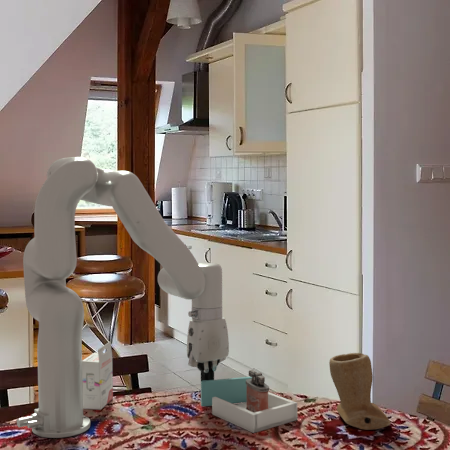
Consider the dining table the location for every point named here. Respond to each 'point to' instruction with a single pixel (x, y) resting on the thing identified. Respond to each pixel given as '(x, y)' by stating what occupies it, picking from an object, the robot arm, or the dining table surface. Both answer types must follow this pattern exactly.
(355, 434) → the dining table surface
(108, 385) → the ink cartridge box
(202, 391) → the box door
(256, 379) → the lighter
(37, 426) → the robot arm
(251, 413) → the box
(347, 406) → the clay boot vessel
